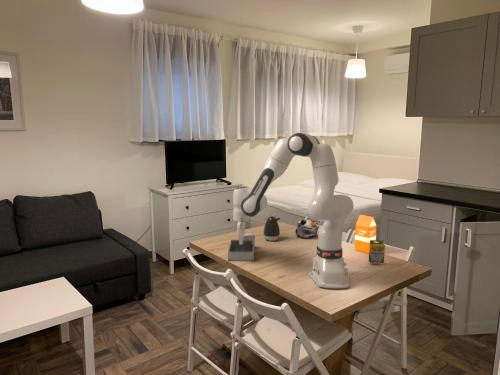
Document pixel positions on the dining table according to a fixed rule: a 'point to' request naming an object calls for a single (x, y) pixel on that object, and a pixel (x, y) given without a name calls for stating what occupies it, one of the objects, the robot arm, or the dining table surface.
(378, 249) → the crayon box
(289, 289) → the dining table surface
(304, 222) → the lucky cat figurine
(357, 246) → the orange juice
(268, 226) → the pump dispenser
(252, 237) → the medicine box
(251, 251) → the metal drawer
